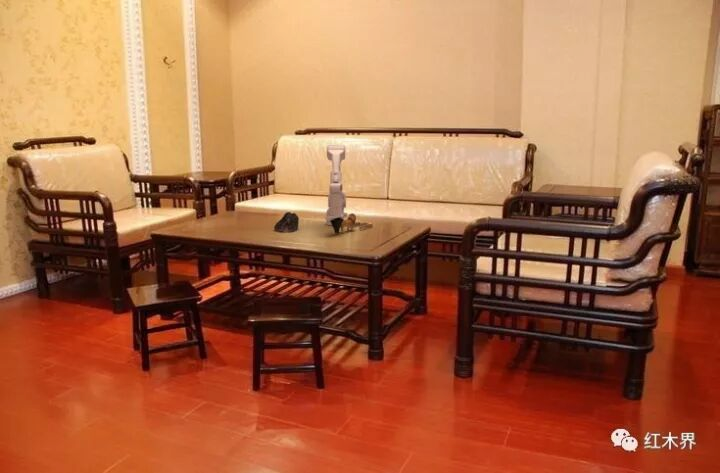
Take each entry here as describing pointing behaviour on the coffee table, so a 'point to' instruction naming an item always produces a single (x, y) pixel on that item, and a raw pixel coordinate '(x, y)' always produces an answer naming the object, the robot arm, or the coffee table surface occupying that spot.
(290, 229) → the crystal cluster
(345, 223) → the lion figurine
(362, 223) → the wooden frame
